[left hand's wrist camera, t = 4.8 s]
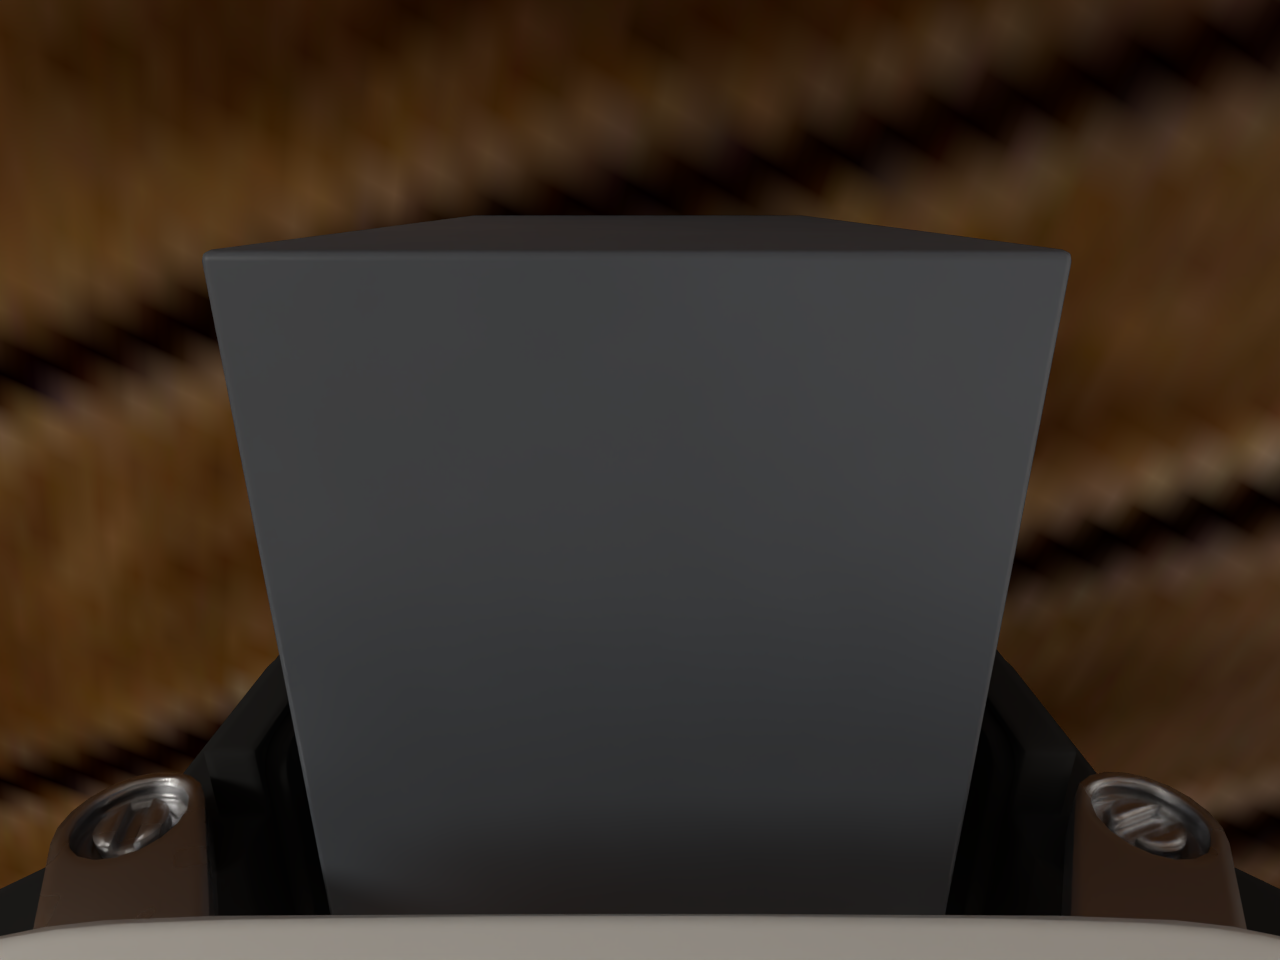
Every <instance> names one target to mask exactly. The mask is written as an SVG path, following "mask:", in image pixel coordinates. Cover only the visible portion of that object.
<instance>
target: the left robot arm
mask: <svg viewBox="0 0 1280 960" xmlns="http://www.w3.org/2000/svg"><path fill="white" fill-rule="evenodd" d="M0 960H1280V889H1278V888H1276V887H1274V886H1272V885H1270V884H1268V883H1266V882H1264V881H1262V880H1260V879H1258V878H1255V877H1253V876H1251V875H1249V874H1247V873H1245V872H1243V871H1241V870H1239V869H1237V868H1235V867H1234V864H1233V859H1232V854H1231V849H1230V844H1229V842H1228V839H1227V837H1226V835H1225V833H1224V830H1223V828H1222V827H1221V826H1220V825H1219V823H1218V822H1217V821H1216V820H1215V819H1214V818H1213V816H1212V815H1211V814H1210V813H1209V812H1208V811H1207V810H1205V809H1204V808H1203V807H1201V806H1200V805H1199V804H1198V803H1196V802H1195V801H1194V800H1192V799H1191V798H1190V797H1188V796H1186V795H1184V794H1183V793H1181V792H1179V791H1177V790H1175V789H1173V788H1172V787H1170V786H1168V785H1165V784H1163V783H1160V782H1157V781H1155V780H1152V779H1149V778H1147V777H1143V776H1138V775H1134V774H1129V773H1124V772H1103V773H1098V774H1097V773H1096V772H1095V771H1094V770H1093V768H1092V767H1091V766H1090V764H1089V763H1088V762H1087V761H1086V759H1085V758H1084V757H1083V756H1082V754H1081V753H1080V752H1079V751H1078V749H1077V748H1076V747H1075V745H1074V744H1073V743H1072V742H1071V740H1070V739H1069V738H1068V737H1067V735H1066V734H1065V733H1064V732H1063V730H1062V729H1061V728H1060V727H1059V725H1058V724H1057V723H1056V721H1055V720H1054V719H1053V718H1052V716H1051V715H1050V714H1049V713H1048V711H1047V710H1046V709H1045V708H1044V706H1043V705H1042V704H1041V702H1040V701H1039V700H1038V699H1037V697H1036V696H1035V695H1034V694H1033V692H1032V691H1031V690H1030V689H1029V687H1028V686H1027V685H1026V683H1025V682H1024V681H1023V680H1022V678H1021V677H1020V676H1019V675H1018V673H1017V672H1016V671H1015V670H1014V668H1013V667H1012V666H1011V665H1010V664H1009V663H1008V662H1007V661H1005V660H1004V658H1003V657H1002V656H1001V654H1000V653H999V652H998V651H997V649H996V653H995V659H994V664H993V669H992V674H991V679H990V684H989V690H988V695H987V700H986V705H985V710H984V715H983V721H982V726H981V731H980V736H979V741H978V746H977V752H976V757H975V762H974V767H973V772H972V777H971V783H970V788H969V793H968V798H967V803H966V809H965V814H964V819H963V824H962V829H961V834H960V840H959V845H958V850H957V855H956V860H955V865H954V871H953V876H952V881H951V886H950V891H949V896H948V902H947V907H946V912H945V915H830V914H450V915H330V909H329V904H328V899H327V894H326V889H325V884H324V879H323V874H322V869H321V864H320V859H319V853H318V848H317V843H316V838H315V833H314V828H313V823H312V818H311V813H310V808H309V802H308V797H307V792H306V787H305V782H304V777H303V772H302V767H301V762H300V757H299V752H298V746H297V741H296V736H295V731H294V726H293V721H292V716H291V711H290V706H289V701H288V695H287V690H286V685H285V680H284V675H283V670H282V665H281V660H280V655H279V656H278V657H277V658H276V660H275V661H273V662H272V663H271V664H270V665H269V666H268V667H267V668H266V670H265V671H264V672H263V673H262V675H261V676H260V677H259V678H258V680H257V681H256V682H255V683H254V685H253V686H252V687H251V689H250V690H249V691H248V692H247V694H246V695H245V696H244V697H243V699H242V700H241V701H240V702H239V704H238V705H237V706H236V708H235V709H234V710H233V711H232V713H231V714H230V715H229V716H228V718H227V719H226V720H225V721H224V723H223V724H222V725H221V727H220V728H219V729H218V730H217V732H216V733H215V734H214V735H213V737H212V738H211V739H210V740H209V742H208V743H207V744H206V746H205V747H204V748H203V749H202V751H201V752H200V753H199V754H198V756H197V757H196V758H195V759H194V761H193V762H192V763H191V764H190V766H189V767H188V768H187V770H186V771H185V772H184V773H183V774H182V773H177V772H156V773H151V774H146V775H142V776H137V777H133V778H131V779H128V780H125V781H123V782H120V783H117V784H115V785H112V786H110V787H108V788H107V789H105V790H103V791H101V792H99V793H97V794H96V795H94V796H92V797H90V798H89V799H88V800H86V801H85V802H84V803H82V804H81V805H80V806H79V807H77V808H76V809H75V810H73V811H72V812H71V813H70V814H69V815H68V816H67V818H66V819H65V820H64V821H63V822H62V823H61V825H60V826H59V827H58V828H57V830H56V833H55V835H54V837H53V839H52V842H51V844H50V849H49V854H48V859H47V864H46V867H45V868H43V869H41V870H39V871H37V872H35V873H33V874H31V875H29V876H27V877H25V878H23V879H20V880H18V881H16V882H14V883H12V884H10V885H8V886H6V887H4V888H2V889H0Z"/></svg>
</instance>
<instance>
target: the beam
mask: <svg viewBox="0 0 1280 960" xmlns="http://www.w3.org/2000/svg"><path fill="white" fill-rule="evenodd" d="M202 262H203V267H204V273H205V278H206V283H207V288H208V293H209V298H210V303H211V308H212V313H213V318H214V323H215V329H216V334H217V339H218V344H219V349H220V354H221V359H222V364H223V369H224V374H225V380H226V385H227V390H228V395H229V400H230V405H231V410H232V415H233V420H234V425H235V430H236V436H237V441H238V446H239V451H240V456H241V461H242V466H243V471H244V476H245V481H246V487H247V492H248V497H249V502H250V507H251V512H252V517H253V522H254V527H255V532H256V537H257V543H258V548H259V553H260V558H261V563H262V568H263V573H264V578H265V583H266V588H267V594H268V599H269V604H270V609H271V614H272V619H273V624H274V629H275V634H276V639H277V644H278V650H279V655H280V660H281V665H282V670H283V675H284V680H285V685H286V690H287V695H288V701H289V706H290V711H291V716H292V721H293V726H294V731H295V736H296V741H297V746H298V752H299V757H300V762H301V767H302V772H303V777H304V782H305V787H306V792H307V797H308V802H309V808H310V813H311V818H312V823H313V828H314V833H315V838H316V843H317V848H318V853H319V859H320V864H321V869H322V874H323V879H324V884H325V889H326V894H327V899H328V904H329V909H330V915H450V914H830V915H945V912H946V907H947V902H948V896H949V891H950V886H951V881H952V876H953V871H954V865H955V860H956V855H957V850H958V845H959V840H960V834H961V829H962V824H963V819H964V814H965V809H966V803H967V798H968V793H969V788H970V783H971V777H972V772H973V767H974V762H975V757H976V752H977V746H978V741H979V736H980V731H981V726H982V721H983V715H984V710H985V705H986V700H987V695H988V690H989V684H990V679H991V674H992V669H993V664H994V659H995V653H996V648H997V643H998V638H999V633H1000V627H1001V622H1002V617H1003V612H1004V607H1005V602H1006V596H1007V591H1008V586H1009V581H1010V576H1011V571H1012V565H1013V560H1014V555H1015V550H1016V545H1017V540H1018V534H1019V529H1020V524H1021V519H1022V514H1023V509H1024V503H1025V498H1026V493H1027V488H1028V483H1029V477H1030V472H1031V467H1032V462H1033V457H1034V452H1035V446H1036V441H1037V436H1038V431H1039V426H1040V421H1041V415H1042V410H1043V405H1044V400H1045V395H1046V390H1047V384H1048V379H1049V374H1050V369H1051V364H1052V359H1053V353H1054V348H1055V343H1056V338H1057V333H1058V328H1059V322H1060V317H1061V312H1062V307H1063V302H1064V296H1065V291H1066V286H1067V281H1068V276H1069V271H1070V265H1071V255H1070V253H1068V252H1066V251H1064V250H1061V249H1053V248H1046V247H1038V246H1031V245H1023V244H1015V243H1008V242H1000V241H992V240H985V239H977V238H969V237H962V236H954V235H946V234H939V233H931V232H923V231H916V230H908V229H901V228H893V227H885V226H878V225H870V224H862V223H855V222H847V221H839V220H832V219H824V218H816V217H809V216H468V217H460V218H452V219H445V220H437V221H429V222H422V223H414V224H406V225H398V226H391V227H383V228H375V229H368V230H360V231H352V232H344V233H337V234H329V235H321V236H314V237H306V238H298V239H290V240H283V241H275V242H267V243H260V244H252V245H244V246H236V247H229V248H221V249H213V250H210V251H208V252H206V253H204V254H203V259H202Z"/></svg>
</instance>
